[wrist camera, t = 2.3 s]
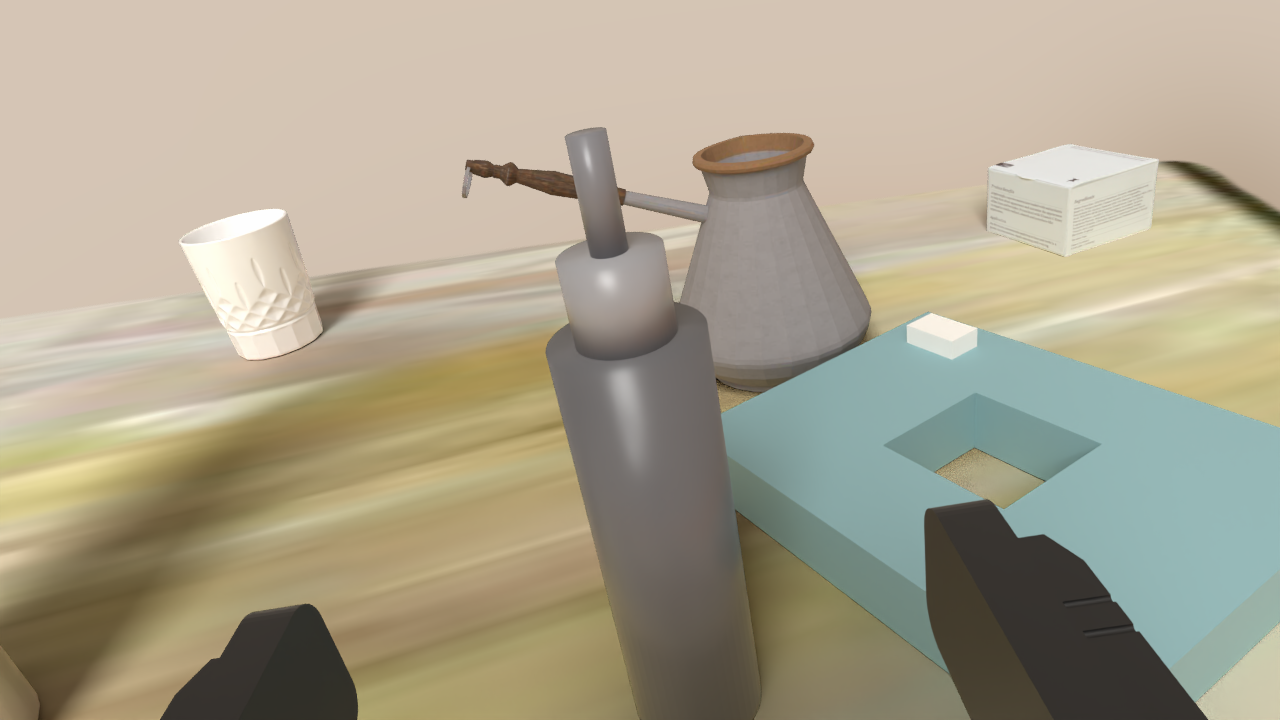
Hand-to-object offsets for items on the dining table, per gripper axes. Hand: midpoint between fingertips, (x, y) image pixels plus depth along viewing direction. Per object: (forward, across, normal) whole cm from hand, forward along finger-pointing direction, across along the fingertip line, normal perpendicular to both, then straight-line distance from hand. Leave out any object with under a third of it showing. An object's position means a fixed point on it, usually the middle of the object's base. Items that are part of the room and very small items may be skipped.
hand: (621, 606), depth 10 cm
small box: (+47, -30, +16) cm, 58 cm away
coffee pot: (+35, -1, +15) cm, 38 cm away
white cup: (+51, +31, +15) cm, 62 cm away
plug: (+12, 0, +15) cm, 19 cm away
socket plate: (+19, -13, +15) cm, 28 cm away
